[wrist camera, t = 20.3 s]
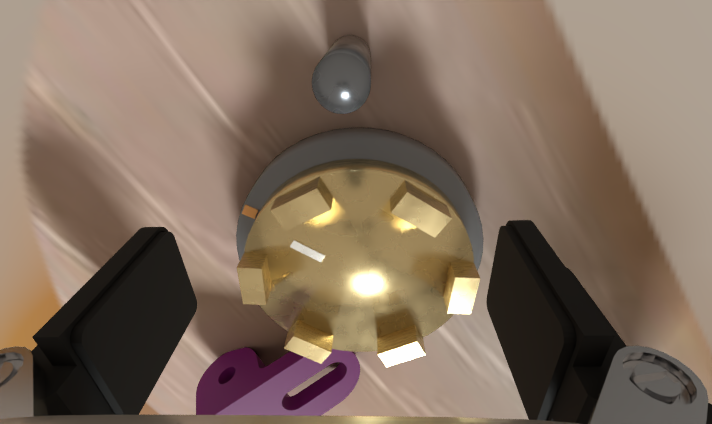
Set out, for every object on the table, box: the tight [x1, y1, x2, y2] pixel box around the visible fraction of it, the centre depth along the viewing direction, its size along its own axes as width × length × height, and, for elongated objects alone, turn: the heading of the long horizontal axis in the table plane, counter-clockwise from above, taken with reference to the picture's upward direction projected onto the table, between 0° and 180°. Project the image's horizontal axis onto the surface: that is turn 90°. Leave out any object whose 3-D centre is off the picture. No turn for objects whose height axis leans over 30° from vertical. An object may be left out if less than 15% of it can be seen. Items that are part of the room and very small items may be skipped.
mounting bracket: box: [196, 347, 360, 416], centre depth 46 cm, size 9×8×18 cm
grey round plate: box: [236, 128, 483, 271], centre depth 36 cm, size 23×23×3 cm
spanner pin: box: [312, 35, 371, 114], centre depth 24 cm, size 3×3×10 cm
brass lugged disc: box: [237, 159, 480, 367], centre depth 32 cm, size 20×20×4 cm
